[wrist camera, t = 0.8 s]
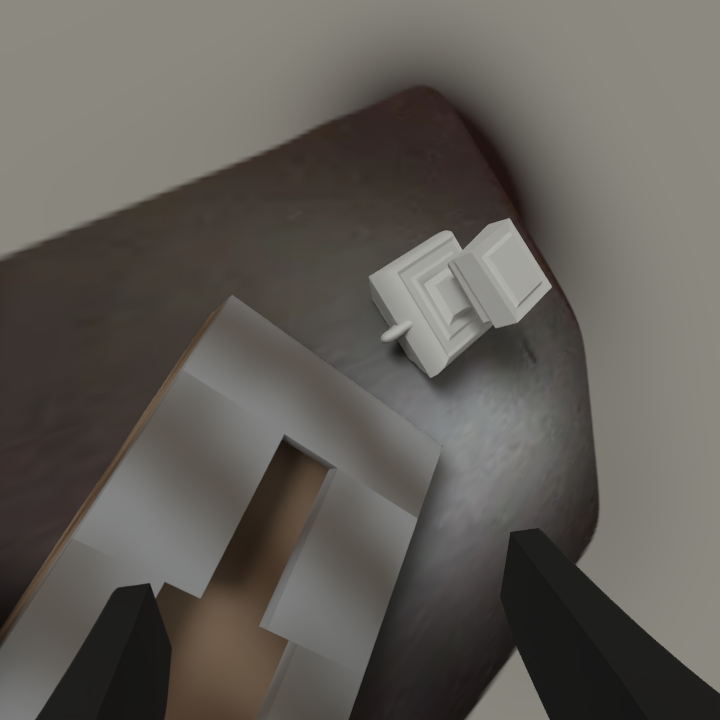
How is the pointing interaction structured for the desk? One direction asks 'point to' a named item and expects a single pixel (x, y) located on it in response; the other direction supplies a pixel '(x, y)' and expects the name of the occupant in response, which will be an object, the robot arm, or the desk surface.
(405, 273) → the stamp
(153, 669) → the robot arm
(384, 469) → the keyhole base
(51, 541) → the desk surface
